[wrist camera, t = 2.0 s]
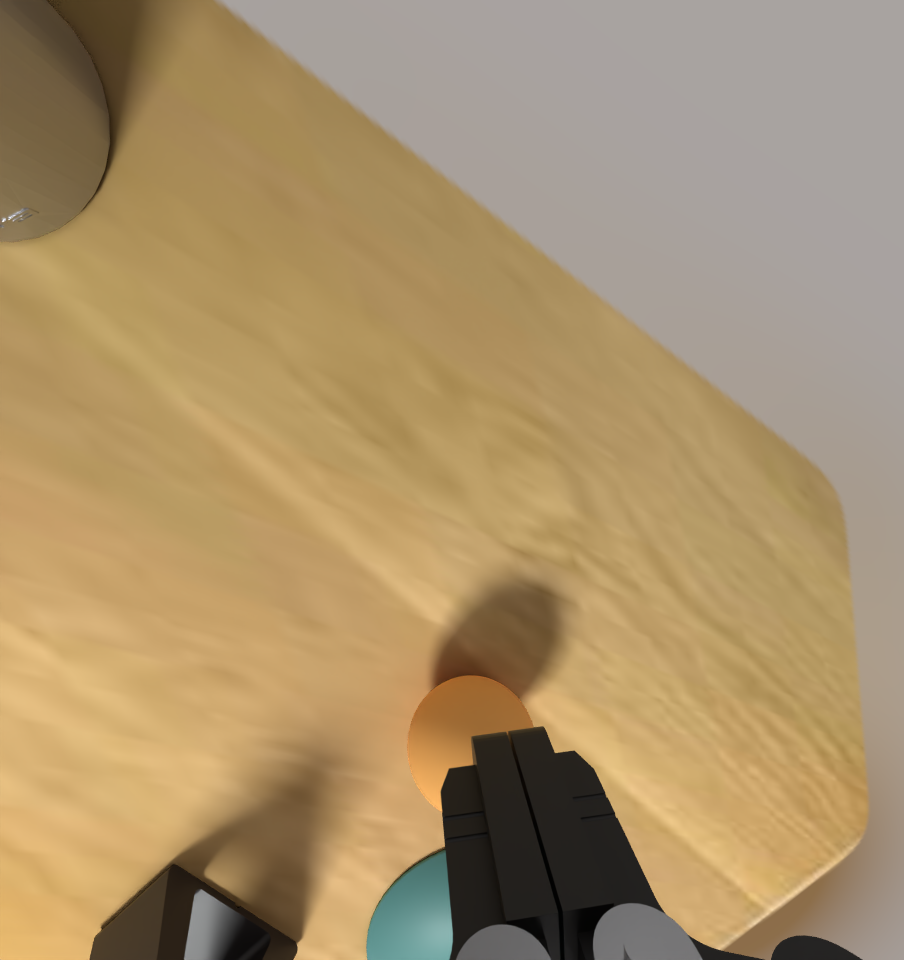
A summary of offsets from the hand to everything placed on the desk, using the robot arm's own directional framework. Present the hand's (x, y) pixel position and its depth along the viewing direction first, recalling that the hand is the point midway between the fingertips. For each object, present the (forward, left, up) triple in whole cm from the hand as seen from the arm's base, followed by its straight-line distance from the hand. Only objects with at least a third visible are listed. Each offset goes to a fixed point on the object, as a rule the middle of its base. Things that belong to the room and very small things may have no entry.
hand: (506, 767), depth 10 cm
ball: (+9, 0, -12) cm, 15 cm away
